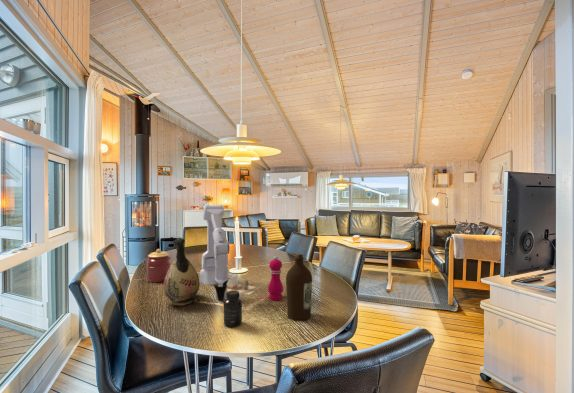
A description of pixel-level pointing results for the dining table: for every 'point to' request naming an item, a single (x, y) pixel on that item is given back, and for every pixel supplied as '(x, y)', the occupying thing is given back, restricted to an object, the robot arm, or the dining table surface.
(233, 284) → the seated sleeve
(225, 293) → the sleeve
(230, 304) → the supplement bottle
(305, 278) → the olive oil
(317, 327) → the dining table surface
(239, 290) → the pin board
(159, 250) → the canister
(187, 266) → the ceramic jug
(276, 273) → the pepper mill
